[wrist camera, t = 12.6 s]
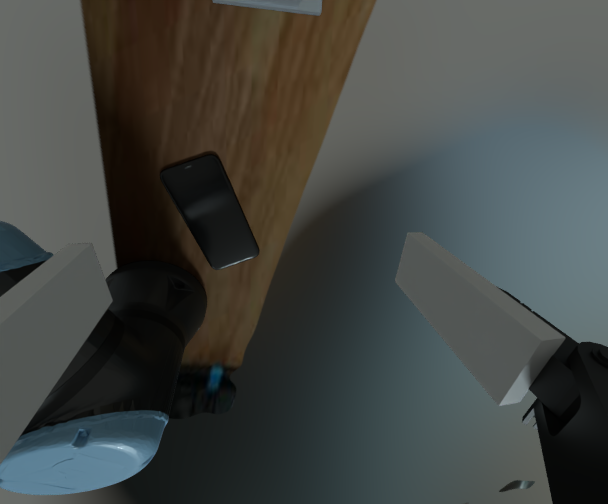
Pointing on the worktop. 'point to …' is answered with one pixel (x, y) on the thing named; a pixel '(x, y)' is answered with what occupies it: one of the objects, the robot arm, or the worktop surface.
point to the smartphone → (211, 210)
